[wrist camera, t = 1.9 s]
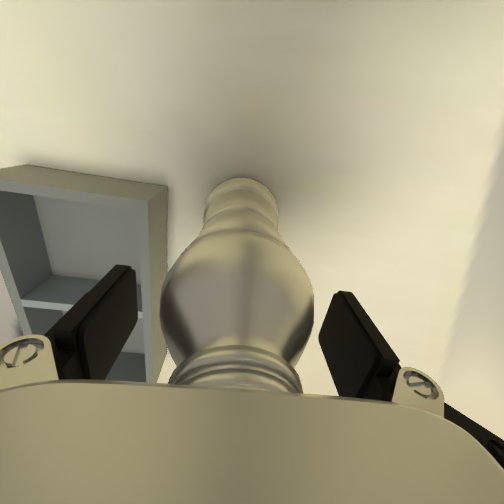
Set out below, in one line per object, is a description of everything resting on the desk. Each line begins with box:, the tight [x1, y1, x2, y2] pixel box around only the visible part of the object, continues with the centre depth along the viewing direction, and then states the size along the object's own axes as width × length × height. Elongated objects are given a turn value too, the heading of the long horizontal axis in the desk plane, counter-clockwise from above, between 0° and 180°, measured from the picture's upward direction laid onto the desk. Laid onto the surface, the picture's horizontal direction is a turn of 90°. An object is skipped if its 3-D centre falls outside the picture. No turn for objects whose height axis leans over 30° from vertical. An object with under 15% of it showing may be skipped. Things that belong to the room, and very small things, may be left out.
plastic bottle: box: [159, 177, 314, 393], centre depth 14 cm, size 6×7×20 cm
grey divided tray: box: [0, 165, 167, 383], centre depth 24 cm, size 22×12×5 cm, turn 171°
